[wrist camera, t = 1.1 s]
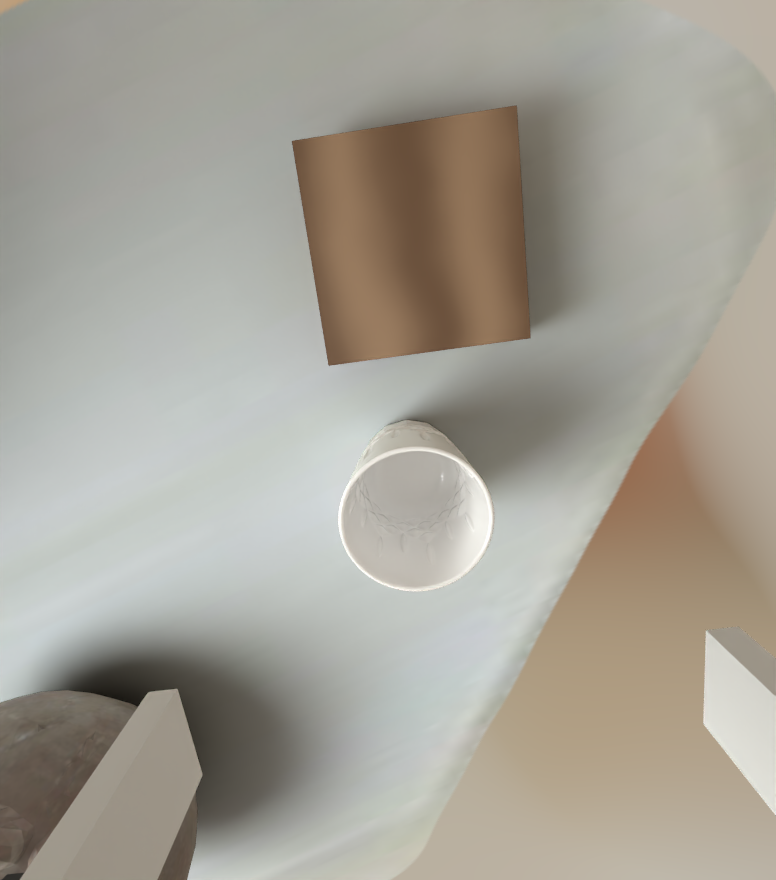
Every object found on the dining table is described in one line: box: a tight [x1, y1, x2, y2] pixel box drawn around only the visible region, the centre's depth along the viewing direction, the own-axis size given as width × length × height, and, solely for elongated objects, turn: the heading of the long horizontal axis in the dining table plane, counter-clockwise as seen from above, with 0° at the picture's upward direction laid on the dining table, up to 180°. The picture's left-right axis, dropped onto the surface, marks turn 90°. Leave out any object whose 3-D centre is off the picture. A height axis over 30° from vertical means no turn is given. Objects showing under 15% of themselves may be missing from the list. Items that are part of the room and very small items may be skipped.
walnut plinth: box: [292, 106, 531, 366], centre depth 27 cm, size 12×12×4 cm
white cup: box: [338, 420, 494, 591], centre depth 27 cm, size 8×8×10 cm
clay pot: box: [0, 690, 198, 880], centre depth 31 cm, size 21×21×15 cm
